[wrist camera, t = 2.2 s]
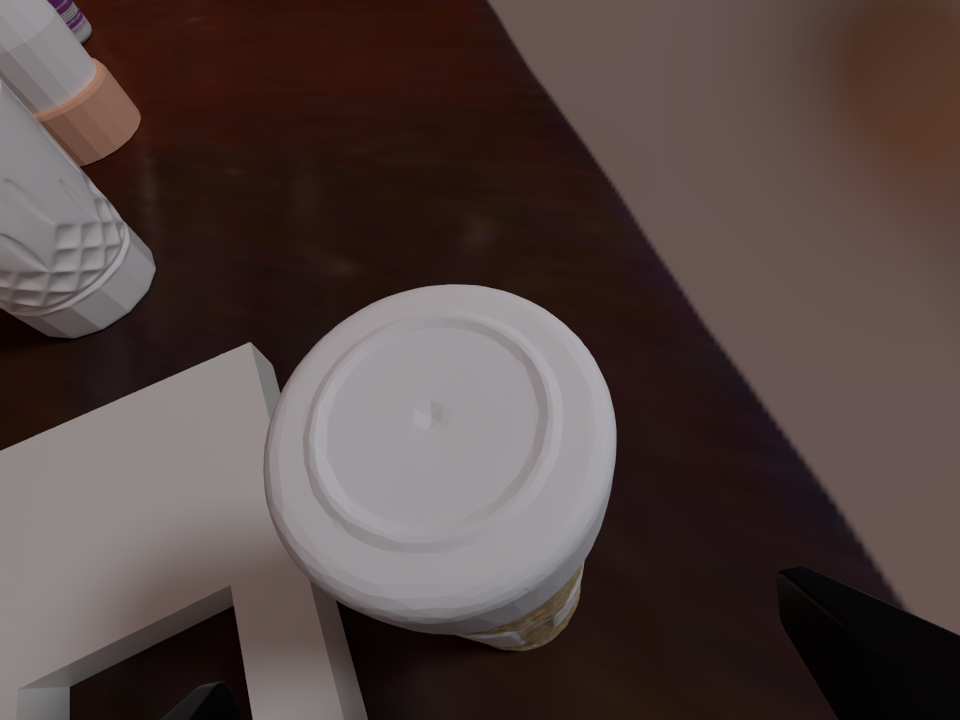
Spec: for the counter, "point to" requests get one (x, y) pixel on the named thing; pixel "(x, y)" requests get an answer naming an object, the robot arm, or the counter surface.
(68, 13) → the pill bottle
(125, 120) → the pepper shaker
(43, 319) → the white cup
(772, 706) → the counter surface
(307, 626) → the block
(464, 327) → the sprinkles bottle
